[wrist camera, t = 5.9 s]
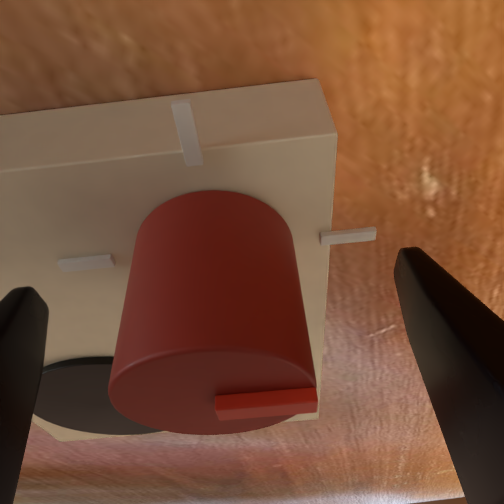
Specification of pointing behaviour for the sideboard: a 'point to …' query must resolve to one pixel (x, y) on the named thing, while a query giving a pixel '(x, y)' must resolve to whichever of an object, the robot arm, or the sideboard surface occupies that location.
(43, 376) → the disc
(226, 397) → the hob knob
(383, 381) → the sideboard surface
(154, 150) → the hob
